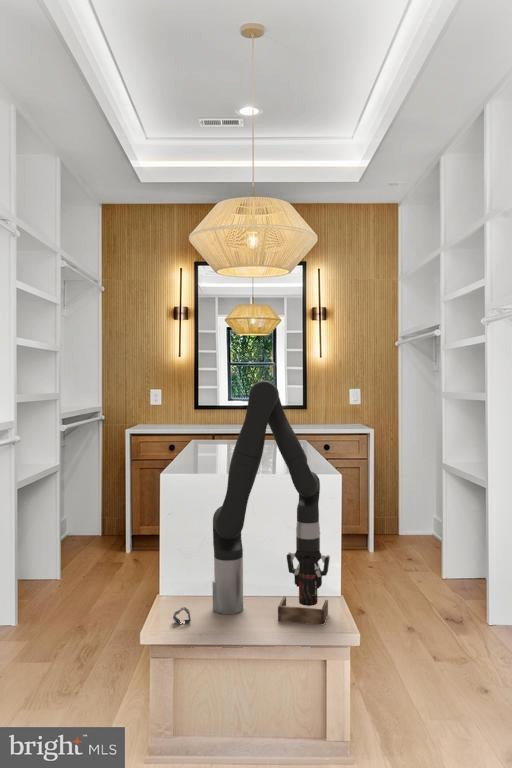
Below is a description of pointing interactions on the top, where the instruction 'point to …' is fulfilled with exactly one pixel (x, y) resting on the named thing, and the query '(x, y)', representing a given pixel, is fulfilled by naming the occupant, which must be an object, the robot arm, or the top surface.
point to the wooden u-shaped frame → (302, 613)
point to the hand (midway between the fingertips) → (308, 586)
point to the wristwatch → (178, 613)
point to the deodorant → (307, 581)
